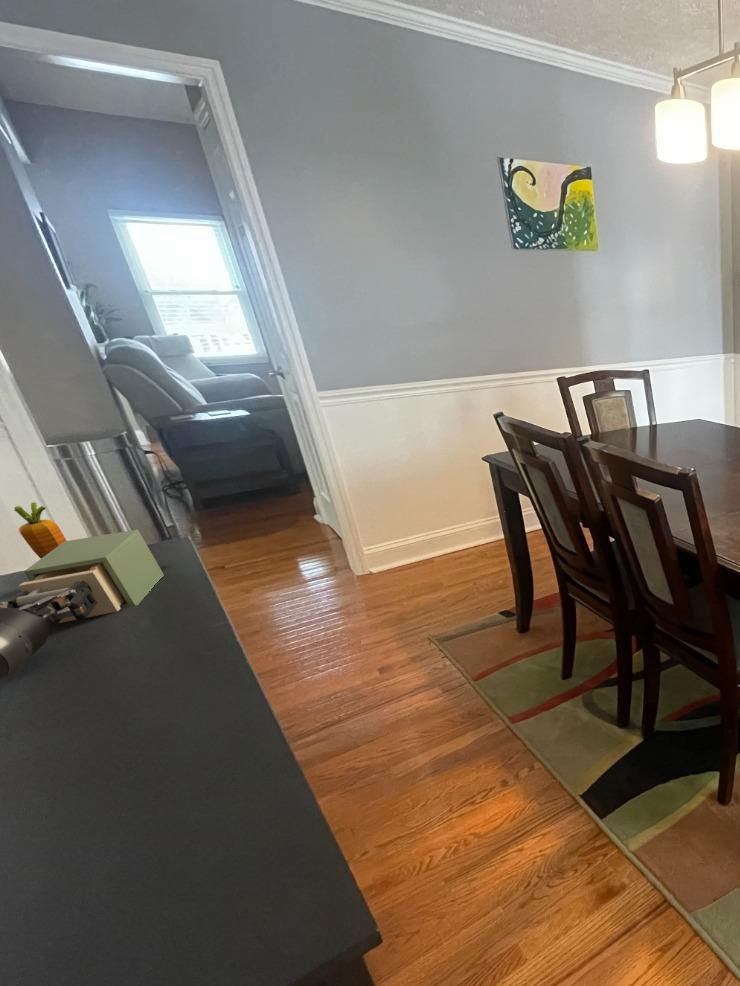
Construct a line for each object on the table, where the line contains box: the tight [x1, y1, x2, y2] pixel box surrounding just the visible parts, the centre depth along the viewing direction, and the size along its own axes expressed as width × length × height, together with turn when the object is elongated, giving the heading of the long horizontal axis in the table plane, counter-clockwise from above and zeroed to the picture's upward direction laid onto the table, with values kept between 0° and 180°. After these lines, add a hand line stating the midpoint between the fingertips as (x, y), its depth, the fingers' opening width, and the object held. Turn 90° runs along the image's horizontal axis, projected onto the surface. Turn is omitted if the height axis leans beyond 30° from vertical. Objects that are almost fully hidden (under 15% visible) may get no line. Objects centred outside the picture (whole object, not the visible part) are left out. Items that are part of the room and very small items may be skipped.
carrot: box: [13, 501, 67, 559], centre depth 109 cm, size 5×5×15 cm
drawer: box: [16, 562, 125, 624], centre depth 97 cm, size 16×9×8 cm, turn 25°
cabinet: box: [23, 529, 165, 609], centre depth 103 cm, size 13×10×10 cm
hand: (56, 591), depth 92 cm, fingers closed on drawer, 6 cm apart
